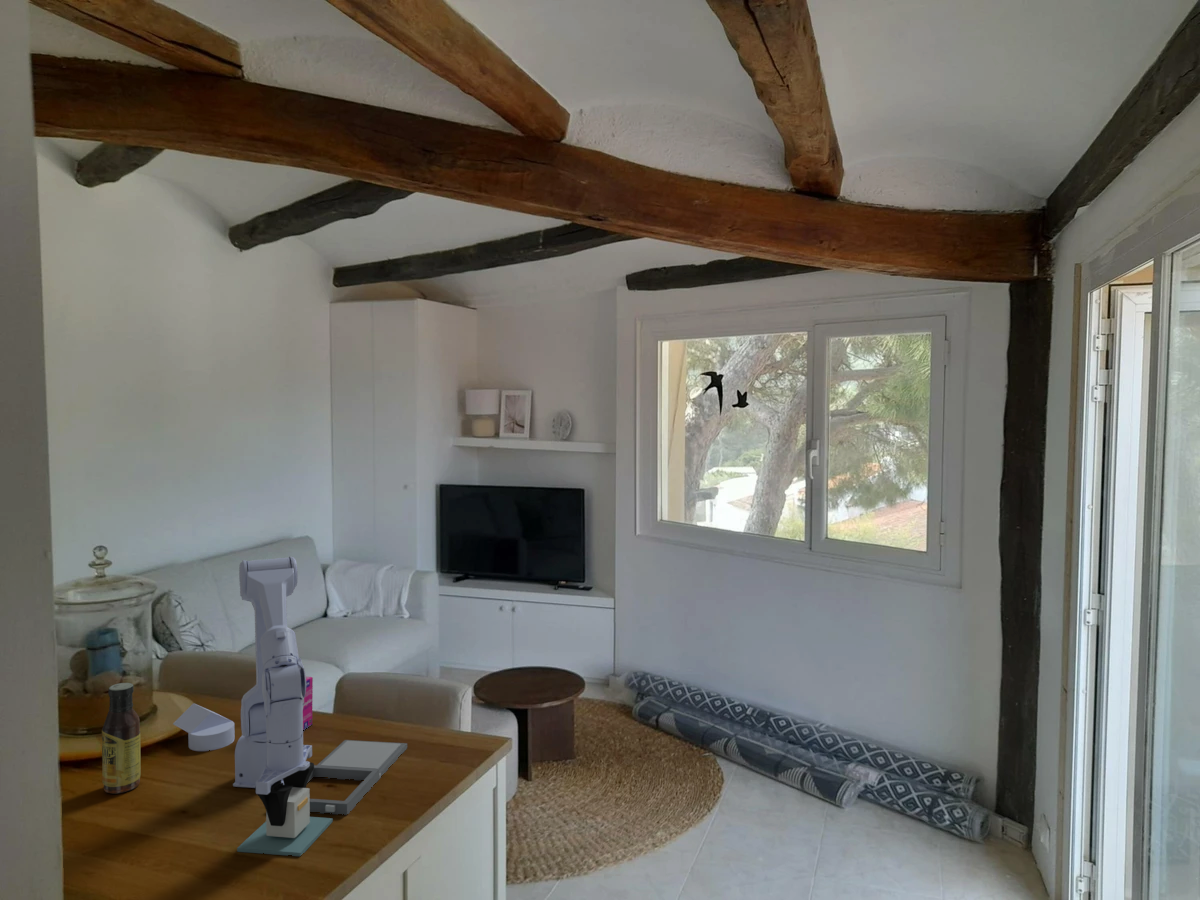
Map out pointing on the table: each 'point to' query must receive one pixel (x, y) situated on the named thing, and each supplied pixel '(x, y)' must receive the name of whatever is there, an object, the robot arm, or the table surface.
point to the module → (293, 815)
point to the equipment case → (354, 770)
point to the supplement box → (307, 703)
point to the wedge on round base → (206, 728)
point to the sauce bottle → (121, 742)
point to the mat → (285, 839)
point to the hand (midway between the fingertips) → (286, 816)
